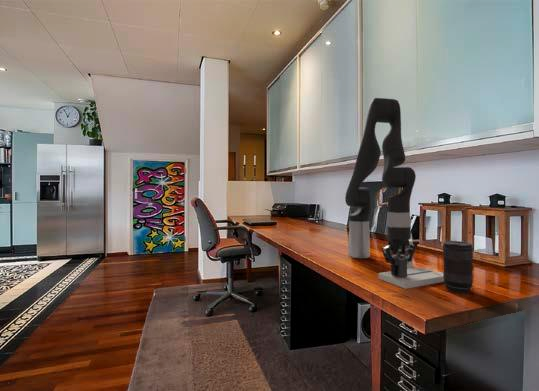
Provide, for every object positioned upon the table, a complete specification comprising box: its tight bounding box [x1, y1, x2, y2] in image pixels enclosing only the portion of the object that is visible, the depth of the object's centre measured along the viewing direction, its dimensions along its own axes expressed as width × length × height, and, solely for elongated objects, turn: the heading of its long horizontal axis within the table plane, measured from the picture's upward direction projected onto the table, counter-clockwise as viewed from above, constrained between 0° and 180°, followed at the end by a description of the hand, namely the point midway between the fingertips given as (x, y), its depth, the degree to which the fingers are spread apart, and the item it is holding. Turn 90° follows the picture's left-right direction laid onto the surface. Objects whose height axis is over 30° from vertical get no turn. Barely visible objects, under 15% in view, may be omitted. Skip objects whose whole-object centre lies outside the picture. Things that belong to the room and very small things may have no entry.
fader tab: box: [391, 258, 407, 278], centre depth 101 cm, size 4×3×6 cm
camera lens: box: [442, 240, 474, 294], centre depth 93 cm, size 8×8×15 cm
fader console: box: [378, 266, 444, 289], centre depth 104 cm, size 12×21×2 cm, turn 112°
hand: (399, 274), depth 101 cm, fingers closed on fader tab, 3 cm apart
